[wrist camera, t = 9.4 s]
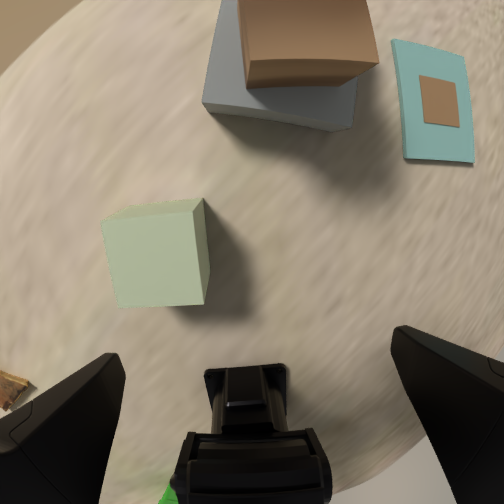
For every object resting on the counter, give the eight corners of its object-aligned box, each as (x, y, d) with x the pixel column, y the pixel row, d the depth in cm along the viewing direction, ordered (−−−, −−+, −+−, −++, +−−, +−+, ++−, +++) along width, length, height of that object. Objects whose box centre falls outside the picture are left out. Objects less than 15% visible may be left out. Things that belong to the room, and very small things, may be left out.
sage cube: (210, 270, 21) (203, 304, 16) (141, 275, 21) (118, 307, 16) (203, 197, 19) (192, 211, 15) (130, 205, 19) (100, 221, 15)
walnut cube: (339, 86, 14) (379, 63, 9) (245, 89, 14) (250, 60, 9) (326, 9, 13) (356, -33, 8) (237, 9, 13) (238, -39, 8)
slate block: (330, 132, 19) (351, 127, 15) (208, 112, 18) (201, 102, 14) (342, 30, 16) (363, 8, 13) (228, 8, 16) (226, -20, 12)
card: (470, 162, 19) (475, 162, 19) (403, 157, 19) (407, 158, 18) (460, 57, 16) (464, 56, 16) (390, 40, 16) (394, 38, 16)
